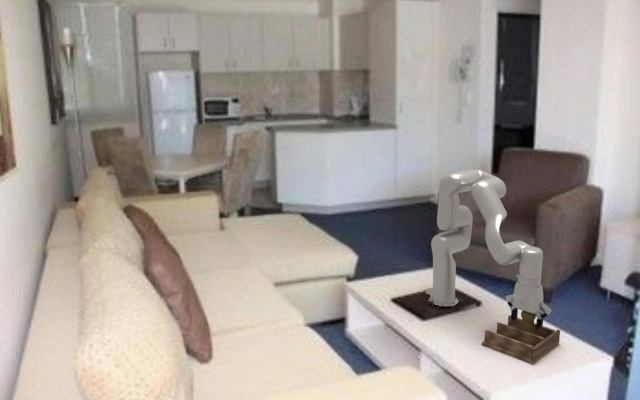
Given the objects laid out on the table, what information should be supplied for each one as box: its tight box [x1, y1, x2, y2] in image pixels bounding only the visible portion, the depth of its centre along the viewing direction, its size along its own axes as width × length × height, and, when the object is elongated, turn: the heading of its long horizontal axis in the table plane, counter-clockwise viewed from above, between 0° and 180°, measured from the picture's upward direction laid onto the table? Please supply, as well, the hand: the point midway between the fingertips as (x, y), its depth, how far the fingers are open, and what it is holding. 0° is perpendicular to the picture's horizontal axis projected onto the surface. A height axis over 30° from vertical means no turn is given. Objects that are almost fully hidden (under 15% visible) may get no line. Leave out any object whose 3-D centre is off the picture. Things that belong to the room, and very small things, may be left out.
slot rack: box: [481, 314, 561, 365], centre depth 210 cm, size 20×20×6 cm
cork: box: [520, 310, 537, 334], centre depth 211 cm, size 6×6×11 cm
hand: (526, 323), depth 212 cm, fingers open, 9 cm apart
